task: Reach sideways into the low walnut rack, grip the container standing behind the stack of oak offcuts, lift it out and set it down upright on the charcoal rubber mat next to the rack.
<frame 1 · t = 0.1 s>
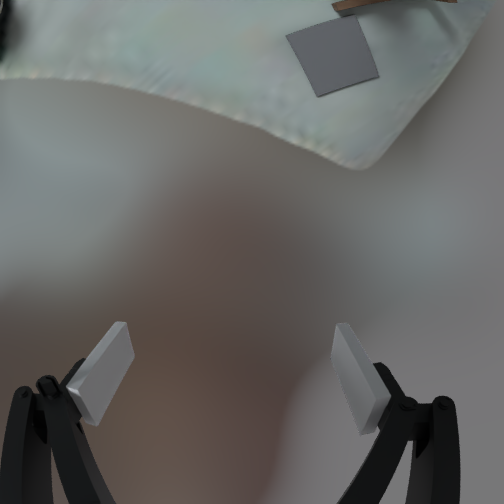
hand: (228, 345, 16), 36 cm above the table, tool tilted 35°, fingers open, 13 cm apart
rubber mat: (335, 54, 30), on the table
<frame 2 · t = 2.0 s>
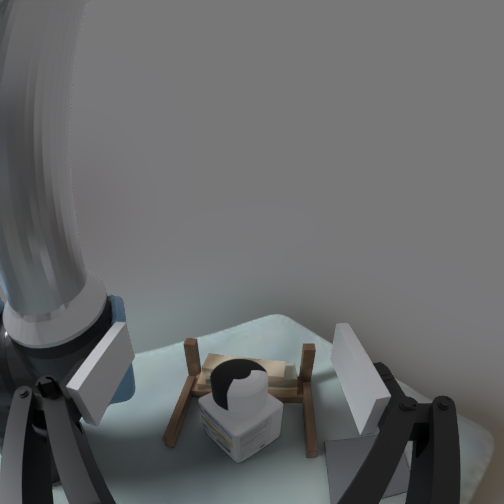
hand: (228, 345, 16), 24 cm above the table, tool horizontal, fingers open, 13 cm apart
container: (241, 435, 32), on the table
offcut stack: (247, 375, 40), point 4 cm above the table
rubber mat: (368, 468, 24), on the table
walnut rack: (241, 434, 32), on the table
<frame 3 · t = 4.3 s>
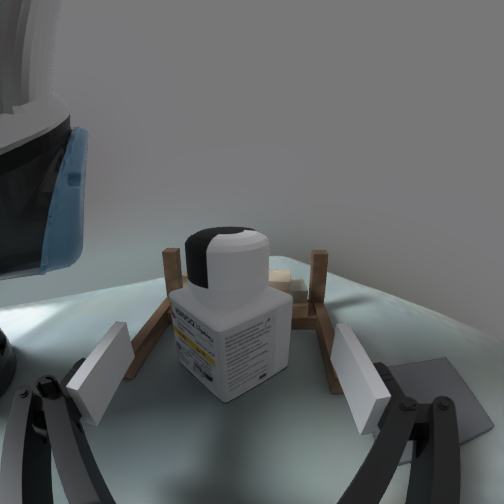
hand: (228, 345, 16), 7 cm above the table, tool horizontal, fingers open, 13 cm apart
container: (232, 366, 24), on the table
offcut stack: (241, 290, 33), point 4 cm above the table
rubber mat: (423, 405, 17), on the table
walnut rack: (232, 365, 24), on the table
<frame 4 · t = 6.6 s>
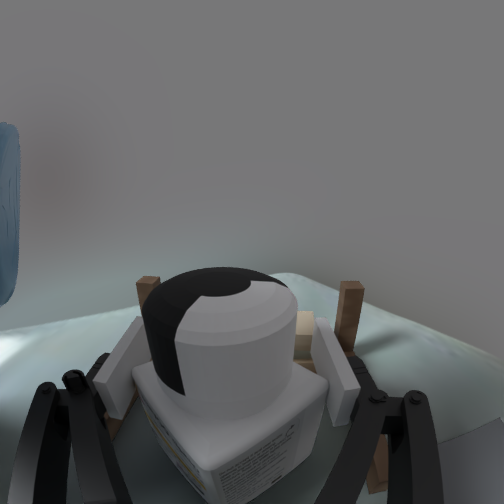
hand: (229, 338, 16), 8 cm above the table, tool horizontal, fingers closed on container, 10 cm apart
container: (232, 455, 15), on the table, touching gripper
offcut stack: (244, 339, 23), point 4 cm above the table
rubber mat: (476, 489, 7), on the table
walnut rack: (232, 454, 15), on the table
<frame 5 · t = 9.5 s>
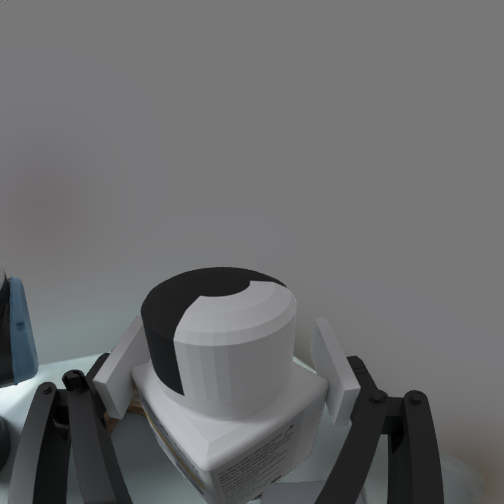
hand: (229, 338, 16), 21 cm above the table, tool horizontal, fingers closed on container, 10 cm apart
container: (232, 455, 15), point 13 cm above the table, touching gripper
when the fingers open (9 cm above the table, at t = 12.8 s): container drops 1 cm, resting on rubber mat.
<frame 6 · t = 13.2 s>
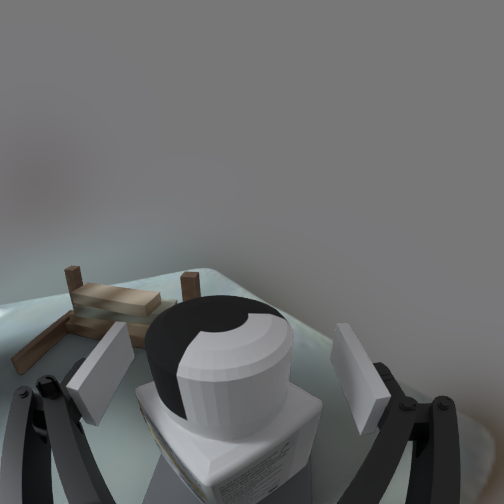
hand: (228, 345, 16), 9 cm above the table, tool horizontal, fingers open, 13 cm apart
container: (232, 465, 15), resting on rubber mat
offcut stack: (118, 308, 31), point 4 cm above the table
rubber mat: (234, 465, 15), on the table
walnut rack: (88, 375, 23), on the table
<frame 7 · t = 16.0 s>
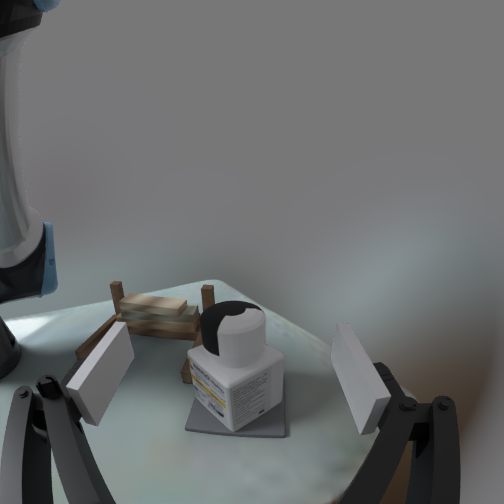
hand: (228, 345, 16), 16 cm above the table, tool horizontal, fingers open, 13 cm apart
container: (238, 402, 30), resting on rubber mat
offcut stack: (155, 311, 46), point 4 cm above the table
rubber mat: (239, 403, 30), on the table
walnut rack: (138, 358, 38), on the table
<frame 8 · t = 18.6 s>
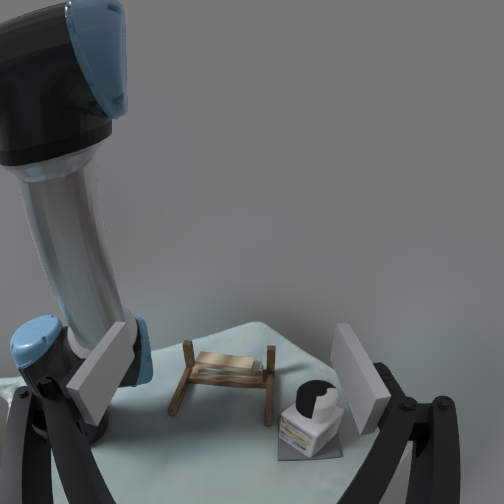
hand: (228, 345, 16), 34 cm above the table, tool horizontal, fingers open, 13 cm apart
container: (307, 436, 40), resting on rubber mat
offcut stack: (227, 367, 56), point 4 cm above the table
rubber mat: (308, 437, 40), on the table
walnut rack: (221, 408, 48), on the table
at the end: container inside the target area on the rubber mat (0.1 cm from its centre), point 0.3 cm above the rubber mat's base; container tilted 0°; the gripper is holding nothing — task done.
